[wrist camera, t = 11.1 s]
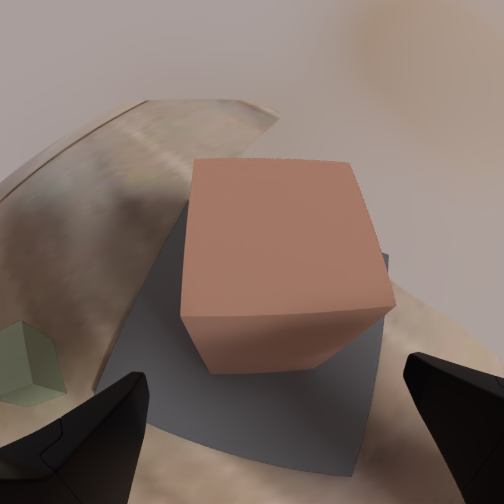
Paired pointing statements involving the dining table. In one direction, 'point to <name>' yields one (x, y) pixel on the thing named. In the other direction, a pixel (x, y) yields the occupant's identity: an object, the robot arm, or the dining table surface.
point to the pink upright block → (278, 264)
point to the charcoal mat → (243, 384)
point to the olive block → (28, 366)
